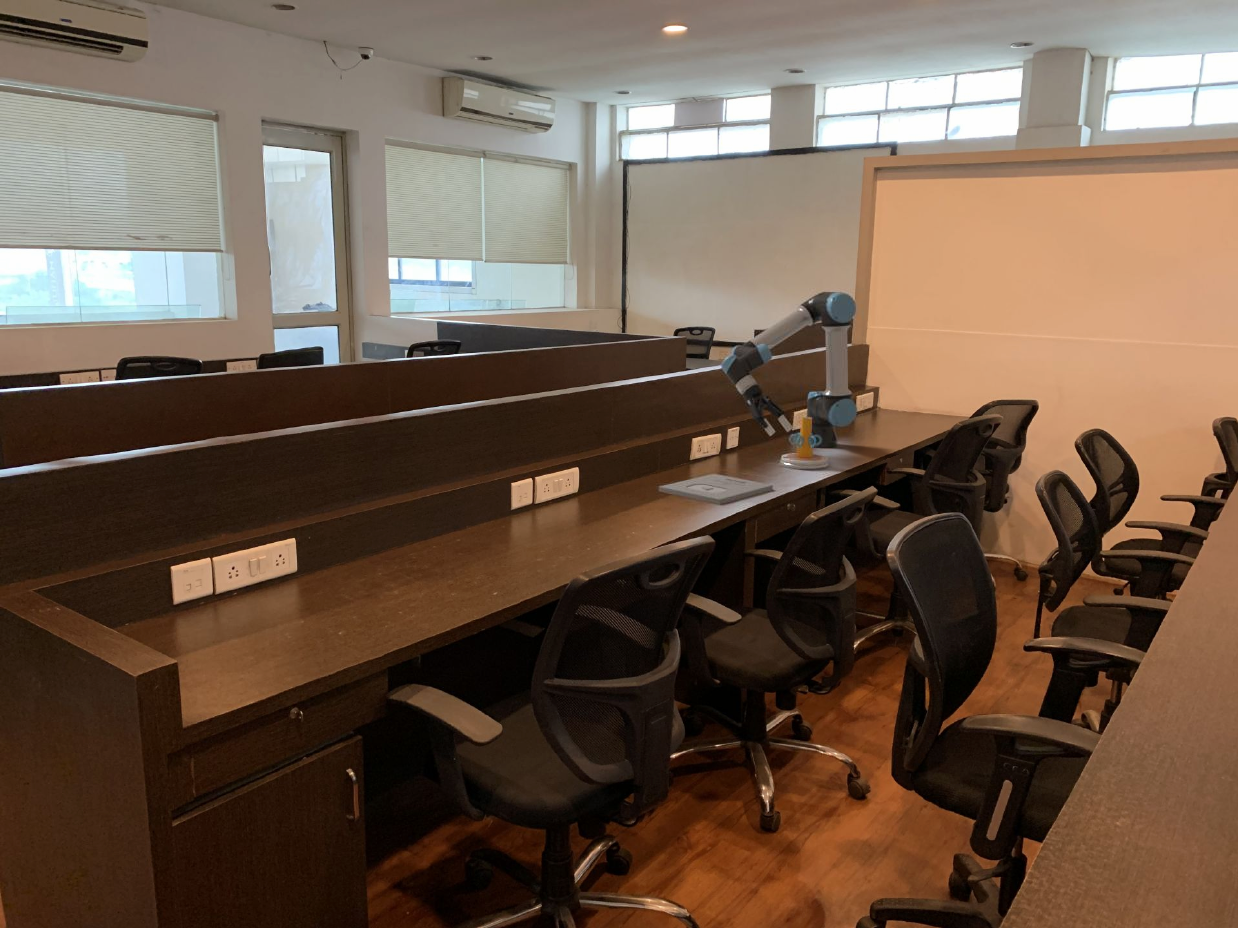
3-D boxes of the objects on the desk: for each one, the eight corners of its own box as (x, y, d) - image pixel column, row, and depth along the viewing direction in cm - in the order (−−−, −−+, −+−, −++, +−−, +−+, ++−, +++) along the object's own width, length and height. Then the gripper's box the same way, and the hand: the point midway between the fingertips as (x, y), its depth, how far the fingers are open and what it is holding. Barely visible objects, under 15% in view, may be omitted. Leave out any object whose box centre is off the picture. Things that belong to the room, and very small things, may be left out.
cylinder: (819, 454, 356) (821, 416, 353) (822, 460, 346) (824, 420, 343) (786, 453, 357) (789, 415, 354) (789, 458, 347) (791, 419, 344)
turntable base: (819, 460, 362) (819, 456, 361) (834, 470, 344) (834, 466, 344) (774, 460, 360) (774, 457, 359) (787, 470, 342) (787, 466, 342)
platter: (818, 457, 361) (819, 452, 360) (833, 465, 344) (833, 461, 344) (776, 457, 359) (776, 452, 359) (788, 465, 342) (788, 461, 342)
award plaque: (772, 491, 310) (772, 484, 310) (719, 506, 288) (719, 499, 288) (713, 479, 326) (713, 473, 326) (658, 492, 305) (658, 486, 304)
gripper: (759, 393, 374) (790, 434, 368) (726, 398, 355) (758, 441, 348) (772, 381, 369) (803, 422, 363) (738, 385, 350) (771, 429, 344)
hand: (781, 431), depth 356 cm, fingers open, 13 cm apart
